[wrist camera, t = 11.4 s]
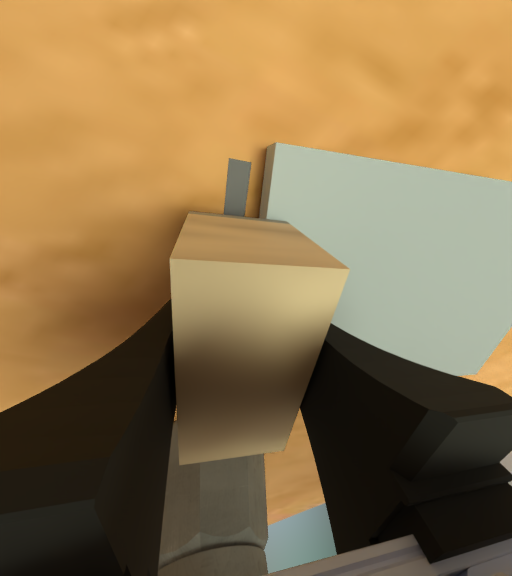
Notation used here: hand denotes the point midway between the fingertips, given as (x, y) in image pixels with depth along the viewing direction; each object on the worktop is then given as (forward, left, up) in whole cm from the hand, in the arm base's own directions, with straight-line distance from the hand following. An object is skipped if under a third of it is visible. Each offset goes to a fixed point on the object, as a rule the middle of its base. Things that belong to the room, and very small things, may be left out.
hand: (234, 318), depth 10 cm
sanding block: (0, 0, -1) cm, 1 cm away
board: (0, -11, -3) cm, 12 cm away
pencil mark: (+5, 0, -3) cm, 5 cm away
